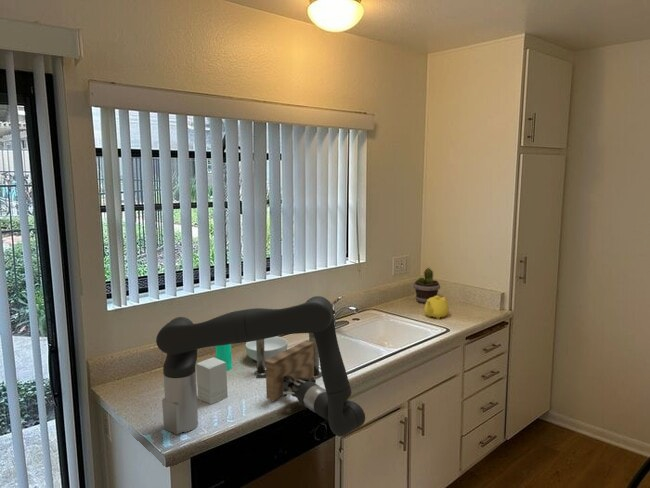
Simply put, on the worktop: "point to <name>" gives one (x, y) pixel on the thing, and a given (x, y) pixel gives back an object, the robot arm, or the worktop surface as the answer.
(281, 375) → the gate
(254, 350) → the cereal bowl
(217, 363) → the supplement box
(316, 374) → the gate posts
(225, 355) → the candle
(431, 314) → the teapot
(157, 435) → the worktop surface
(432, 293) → the flowerpot
